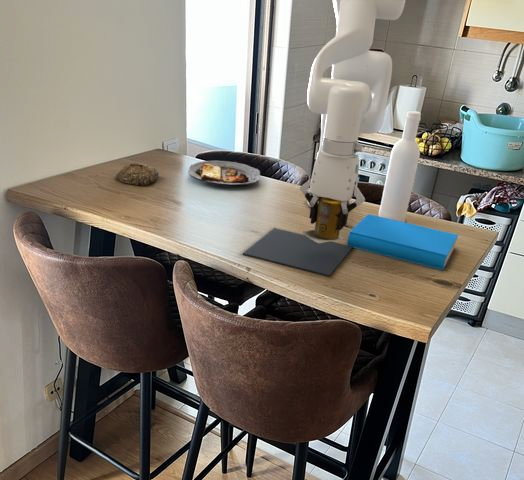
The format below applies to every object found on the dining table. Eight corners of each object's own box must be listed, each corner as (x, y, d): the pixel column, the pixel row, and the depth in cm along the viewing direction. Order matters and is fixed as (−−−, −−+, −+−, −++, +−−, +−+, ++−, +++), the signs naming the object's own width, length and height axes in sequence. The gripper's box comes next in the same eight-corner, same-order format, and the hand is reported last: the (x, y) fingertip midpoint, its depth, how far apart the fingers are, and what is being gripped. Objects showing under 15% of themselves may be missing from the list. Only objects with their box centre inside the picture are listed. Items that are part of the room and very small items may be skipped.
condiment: (346, 239, 135) (354, 189, 129) (318, 244, 131) (326, 193, 124) (327, 228, 140) (334, 180, 134) (300, 233, 136) (306, 183, 129)
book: (367, 213, 156) (458, 233, 148) (364, 228, 158) (454, 248, 150) (348, 232, 143) (447, 254, 135) (346, 248, 145) (443, 271, 137)
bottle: (384, 214, 169) (406, 107, 153) (408, 221, 166) (434, 113, 149) (372, 220, 164) (394, 110, 147) (397, 228, 160) (422, 116, 144)
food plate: (258, 193, 176) (259, 182, 174) (184, 186, 175) (184, 175, 173) (260, 171, 197) (260, 161, 195) (193, 165, 196) (193, 155, 194)
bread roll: (163, 177, 182) (163, 161, 179) (148, 187, 172) (147, 171, 169) (126, 171, 184) (125, 156, 181) (109, 181, 173) (108, 165, 171)
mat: (274, 229, 151) (274, 228, 151) (352, 248, 145) (353, 246, 144) (242, 254, 135) (242, 253, 135) (329, 276, 129) (329, 275, 129)
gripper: (381, 150, 124) (366, 228, 134) (308, 137, 130) (298, 213, 139) (372, 157, 119) (358, 238, 128) (296, 143, 124) (287, 222, 133)
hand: (327, 224), depth 134 cm, fingers closed on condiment, 6 cm apart
